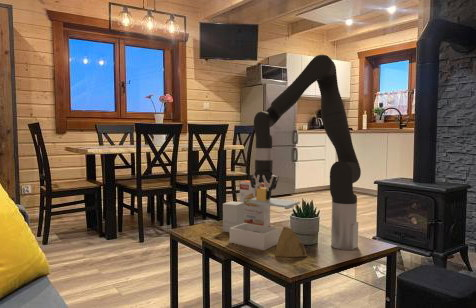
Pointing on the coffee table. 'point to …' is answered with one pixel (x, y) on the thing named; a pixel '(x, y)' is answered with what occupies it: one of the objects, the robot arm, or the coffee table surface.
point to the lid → (271, 200)
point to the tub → (254, 236)
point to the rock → (289, 245)
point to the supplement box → (232, 215)
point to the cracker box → (253, 206)
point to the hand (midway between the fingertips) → (263, 198)
